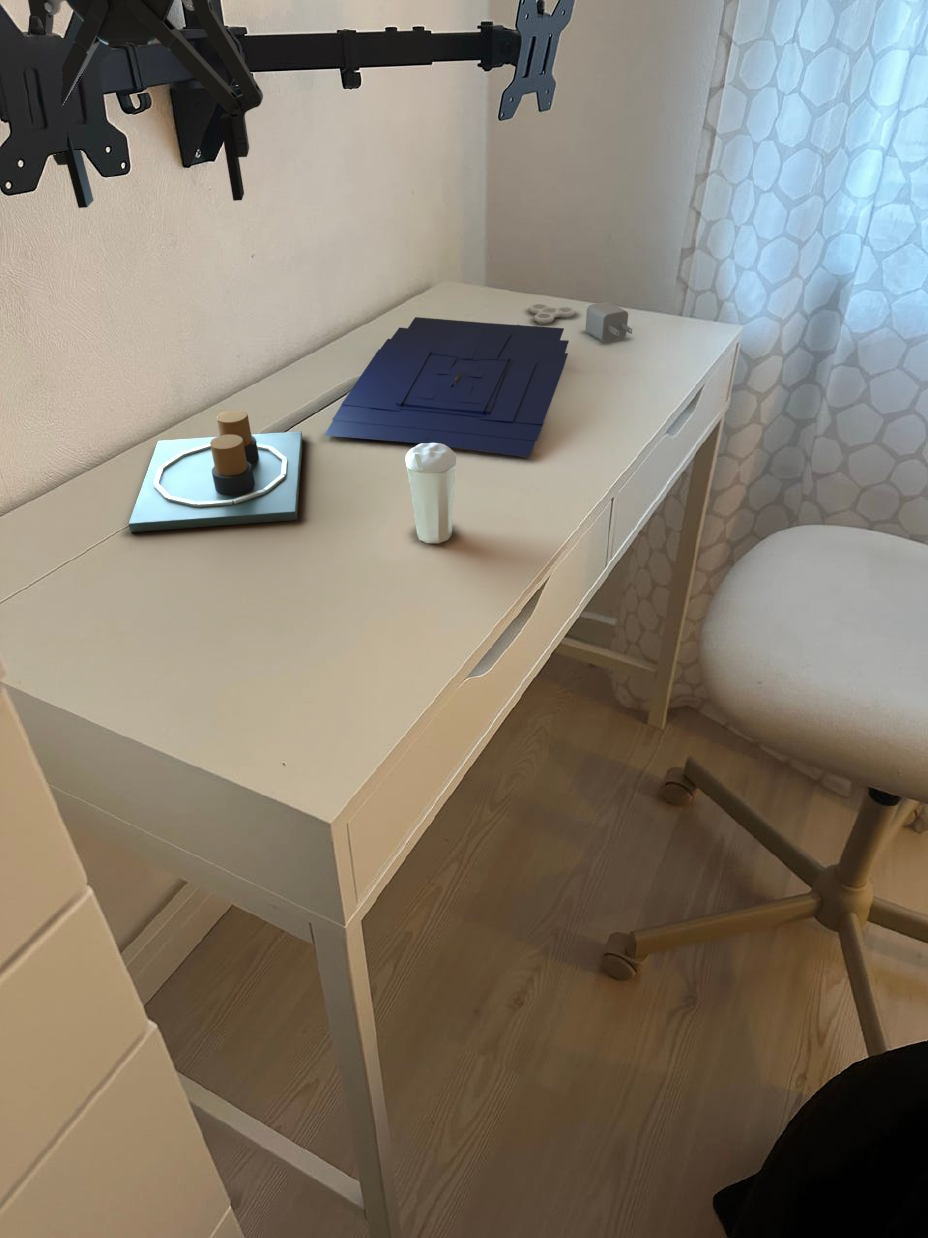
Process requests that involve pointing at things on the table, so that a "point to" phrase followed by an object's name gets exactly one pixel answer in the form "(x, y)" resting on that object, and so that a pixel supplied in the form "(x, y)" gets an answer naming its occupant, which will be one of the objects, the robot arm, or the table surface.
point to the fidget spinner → (549, 312)
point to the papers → (457, 386)
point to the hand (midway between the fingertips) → (163, 200)
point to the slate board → (187, 489)
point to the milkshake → (432, 490)
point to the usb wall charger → (607, 322)
